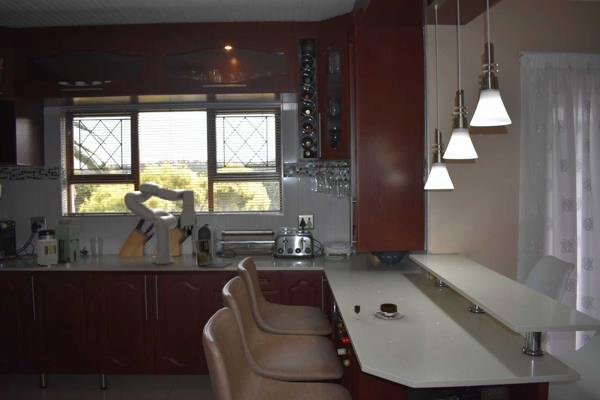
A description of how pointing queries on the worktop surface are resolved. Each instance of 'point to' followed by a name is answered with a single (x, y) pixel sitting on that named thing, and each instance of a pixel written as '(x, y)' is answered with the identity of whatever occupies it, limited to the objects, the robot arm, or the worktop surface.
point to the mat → (218, 265)
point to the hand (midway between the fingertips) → (189, 235)
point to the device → (67, 239)
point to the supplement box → (47, 251)
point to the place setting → (381, 308)
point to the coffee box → (204, 252)
